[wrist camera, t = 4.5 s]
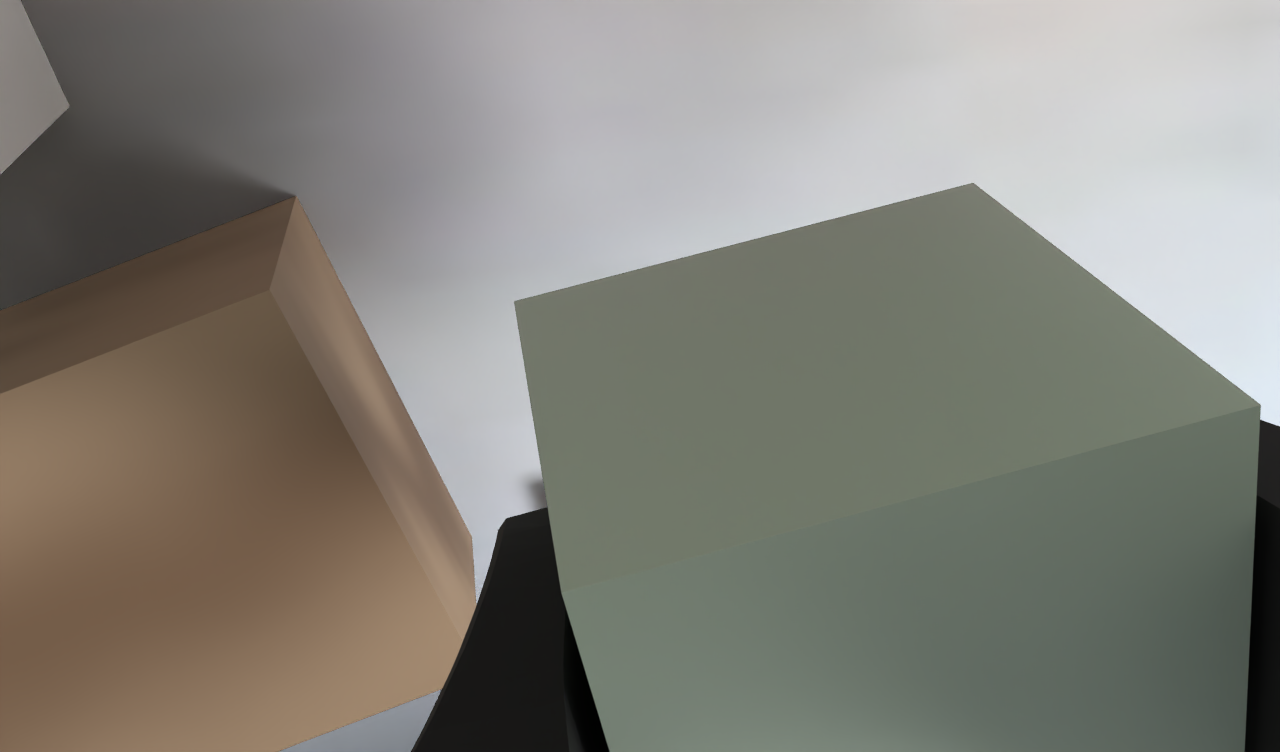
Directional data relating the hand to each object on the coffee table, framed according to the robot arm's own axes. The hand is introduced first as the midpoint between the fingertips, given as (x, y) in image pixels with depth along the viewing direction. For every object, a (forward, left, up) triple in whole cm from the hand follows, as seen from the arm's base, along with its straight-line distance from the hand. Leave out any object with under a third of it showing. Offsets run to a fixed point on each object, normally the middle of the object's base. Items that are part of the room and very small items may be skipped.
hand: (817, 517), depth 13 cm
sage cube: (0, 0, -2) cm, 2 cm away
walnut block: (-2, +9, -9) cm, 12 cm away
